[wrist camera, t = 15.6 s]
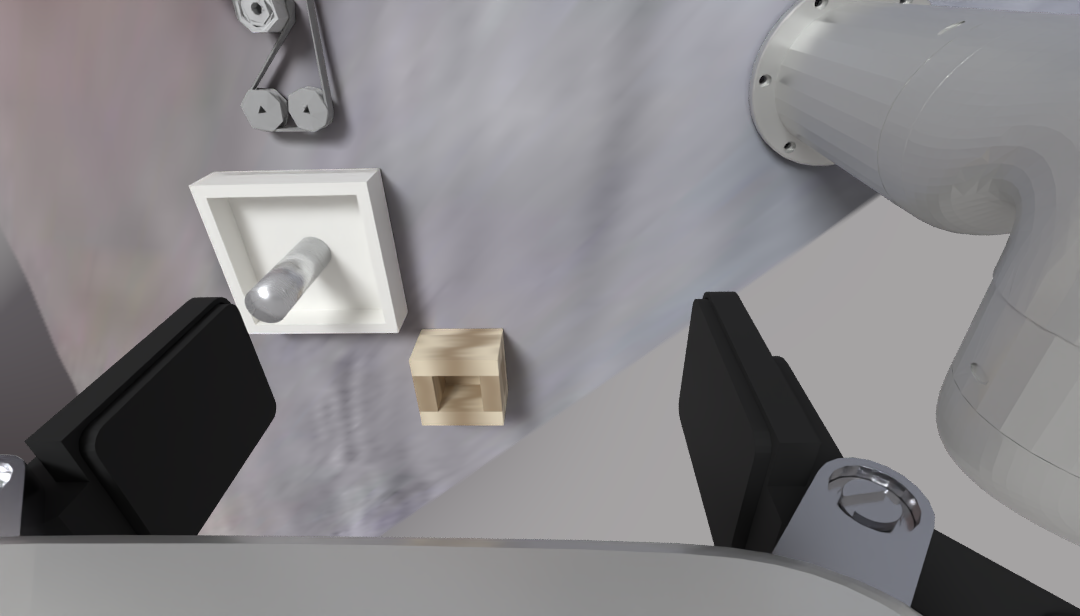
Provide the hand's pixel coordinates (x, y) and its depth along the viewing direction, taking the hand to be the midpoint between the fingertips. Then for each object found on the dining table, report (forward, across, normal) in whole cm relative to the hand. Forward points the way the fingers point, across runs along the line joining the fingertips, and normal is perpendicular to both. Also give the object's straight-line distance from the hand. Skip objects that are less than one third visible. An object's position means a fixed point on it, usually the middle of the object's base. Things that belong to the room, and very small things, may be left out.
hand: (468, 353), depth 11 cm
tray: (+33, +20, +13) cm, 41 cm away
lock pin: (+32, +20, +13) cm, 40 cm away
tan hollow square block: (+33, +8, +26) cm, 43 cm away
